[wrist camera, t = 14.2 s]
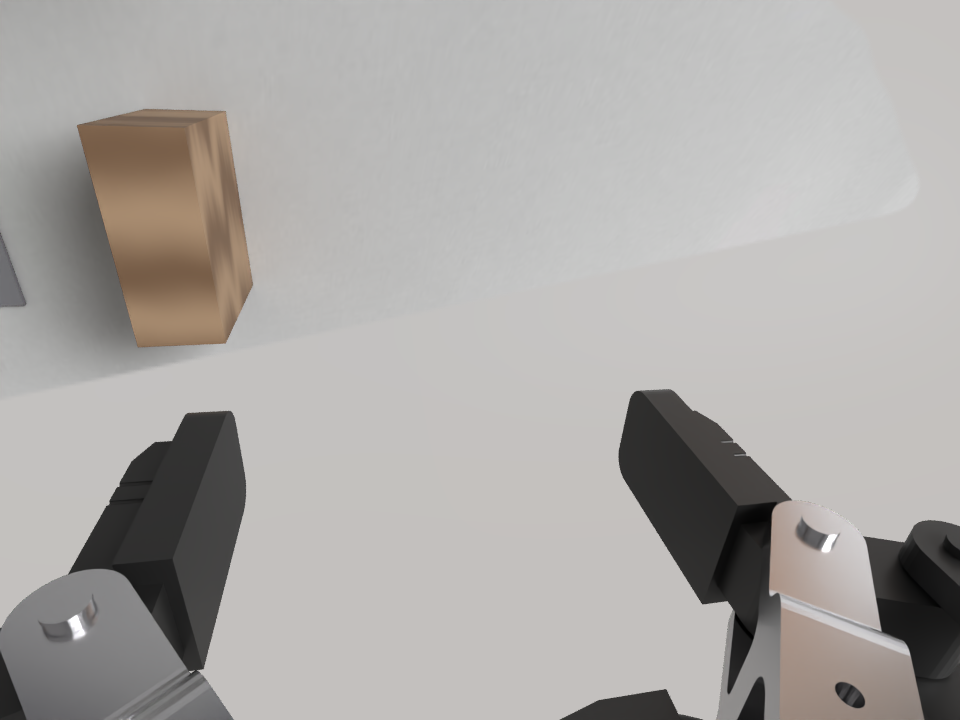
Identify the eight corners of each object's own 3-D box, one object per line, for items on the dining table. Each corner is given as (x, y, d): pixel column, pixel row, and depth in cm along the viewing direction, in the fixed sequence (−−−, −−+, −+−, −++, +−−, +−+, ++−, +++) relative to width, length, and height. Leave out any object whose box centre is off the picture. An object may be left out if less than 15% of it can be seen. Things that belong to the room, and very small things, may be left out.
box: (145, 109, 36) (76, 125, 27) (225, 111, 36) (184, 127, 28) (184, 286, 41) (137, 347, 32) (252, 284, 42) (225, 343, 33)
